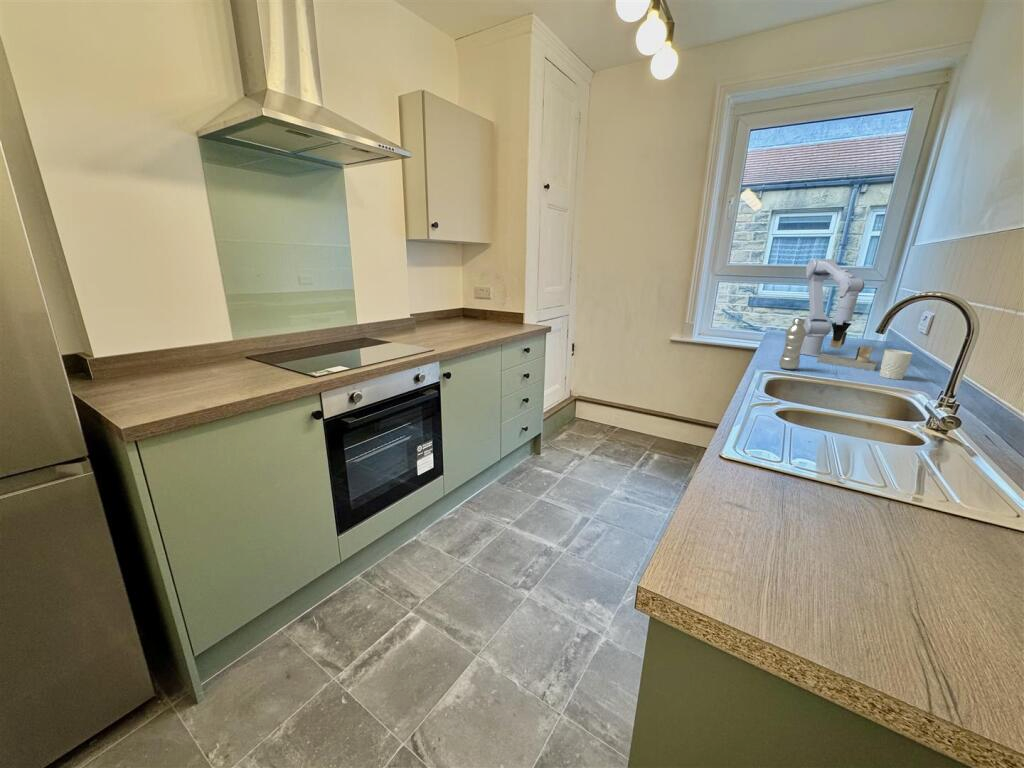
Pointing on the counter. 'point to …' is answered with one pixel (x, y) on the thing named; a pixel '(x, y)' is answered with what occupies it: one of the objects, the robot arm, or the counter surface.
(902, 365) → the white cup
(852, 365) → the rail
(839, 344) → the loose finger
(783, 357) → the plastic bottle
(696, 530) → the counter surface
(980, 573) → the counter surface
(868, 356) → the tan upright block
